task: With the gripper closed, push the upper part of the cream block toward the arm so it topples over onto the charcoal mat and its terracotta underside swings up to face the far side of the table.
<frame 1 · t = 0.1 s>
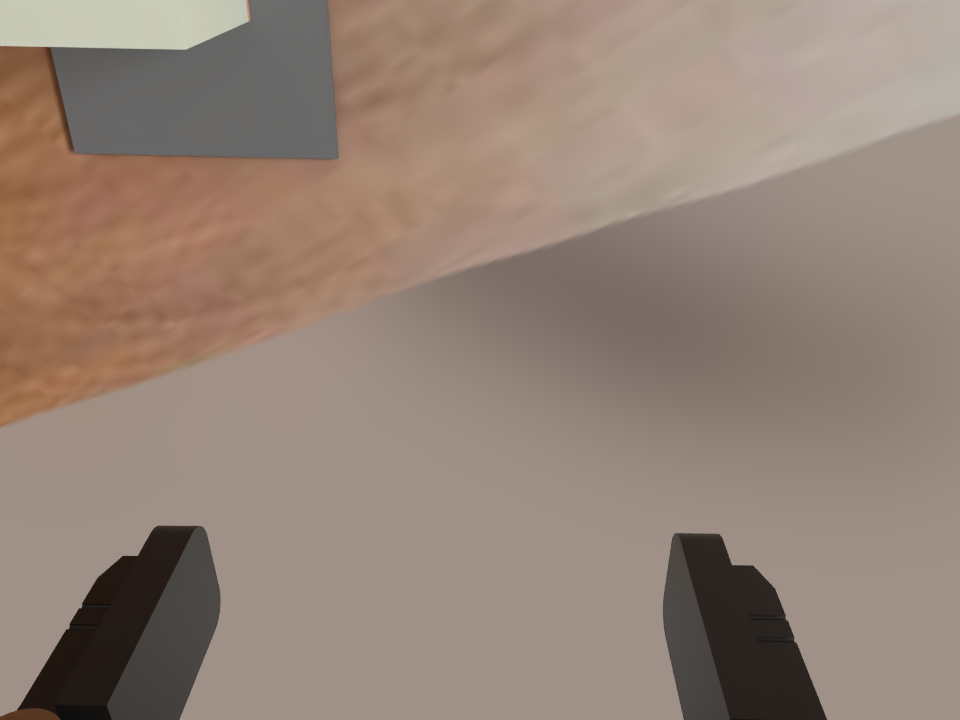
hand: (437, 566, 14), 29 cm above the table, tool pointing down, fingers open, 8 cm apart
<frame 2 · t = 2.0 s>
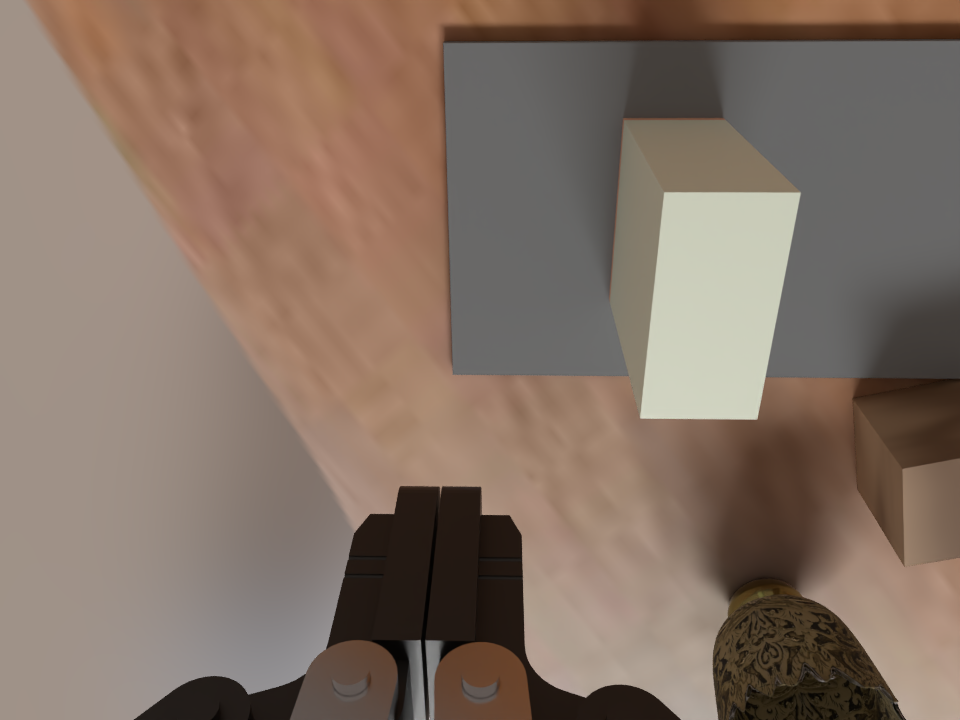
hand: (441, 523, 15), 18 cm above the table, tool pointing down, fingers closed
cream block: (662, 213, 30), resting on mat
filigree lamp shade: (760, 596, 40), on the table
walnut cube: (914, 433, 35), on the table
mat: (739, 223, 30), on the table
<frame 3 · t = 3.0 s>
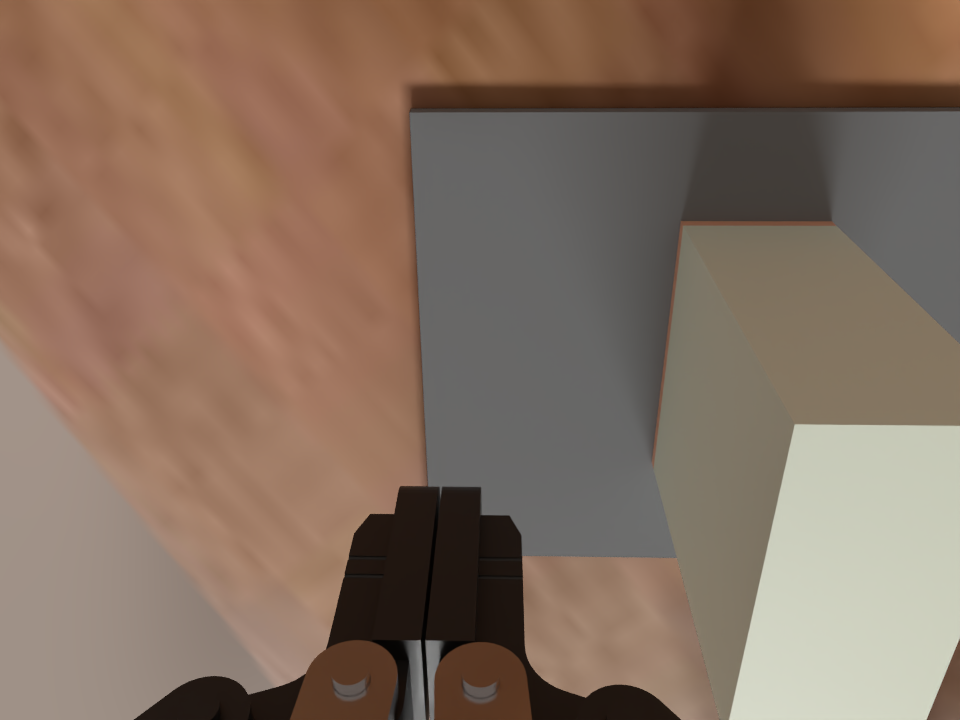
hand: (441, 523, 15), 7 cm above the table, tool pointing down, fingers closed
cream block: (734, 352, 20), resting on mat
mat: (843, 362, 21), on the table
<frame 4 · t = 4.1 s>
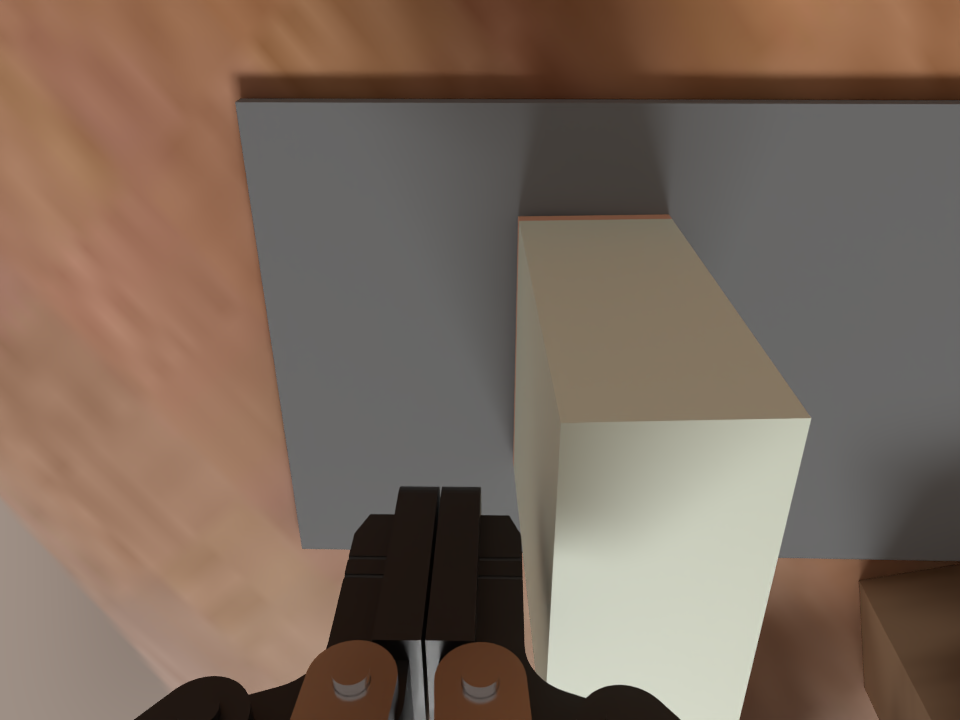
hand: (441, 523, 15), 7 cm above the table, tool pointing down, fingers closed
cream block: (584, 348, 20), point 1 cm above the table, touching gripper, mat
walnut cube: (942, 622, 25), on the table
mat: (697, 357, 21), on the table
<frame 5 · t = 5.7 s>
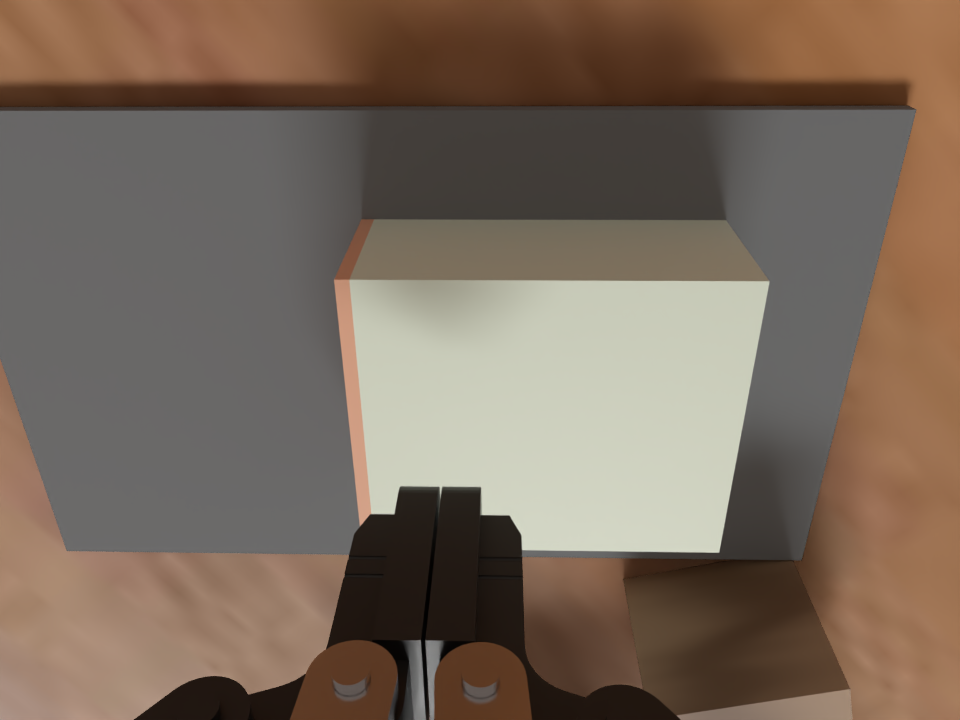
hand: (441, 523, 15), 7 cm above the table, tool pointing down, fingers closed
cream block: (361, 385, 19), point 2 cm above the table, tilted 90°, touching mat
walnut cube: (714, 619, 26), on the table
mat: (421, 359, 21), on the table
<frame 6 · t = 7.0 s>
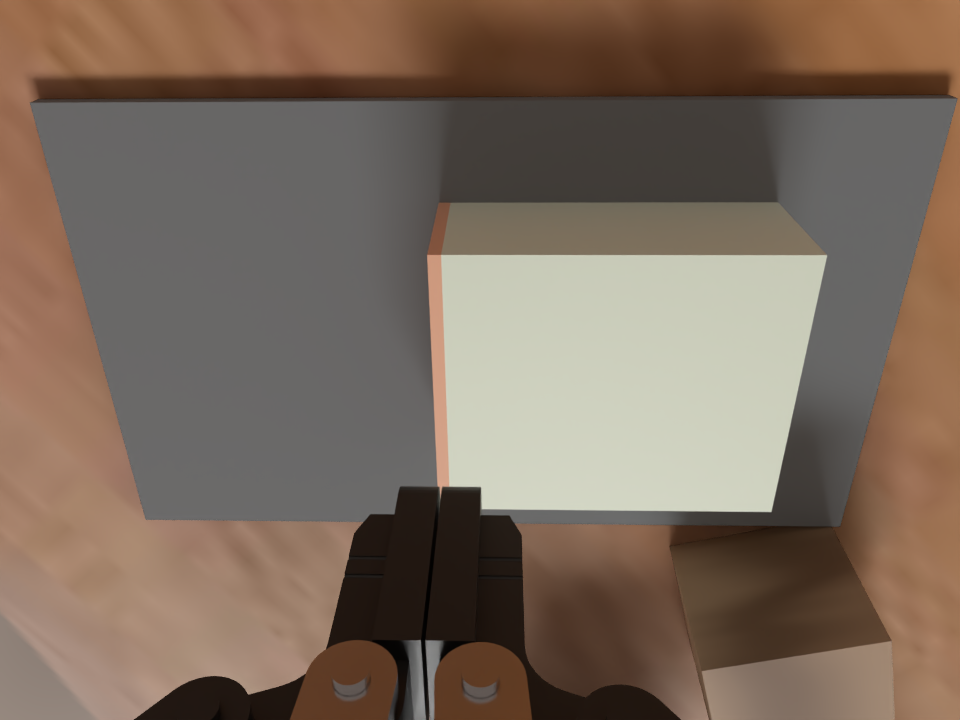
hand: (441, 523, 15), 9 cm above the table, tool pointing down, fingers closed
cream block: (438, 357, 20), point 2 cm above the table, tilted 90°, touching mat
walnut cube: (754, 585, 27), on the table
mat: (487, 335, 23), on the table
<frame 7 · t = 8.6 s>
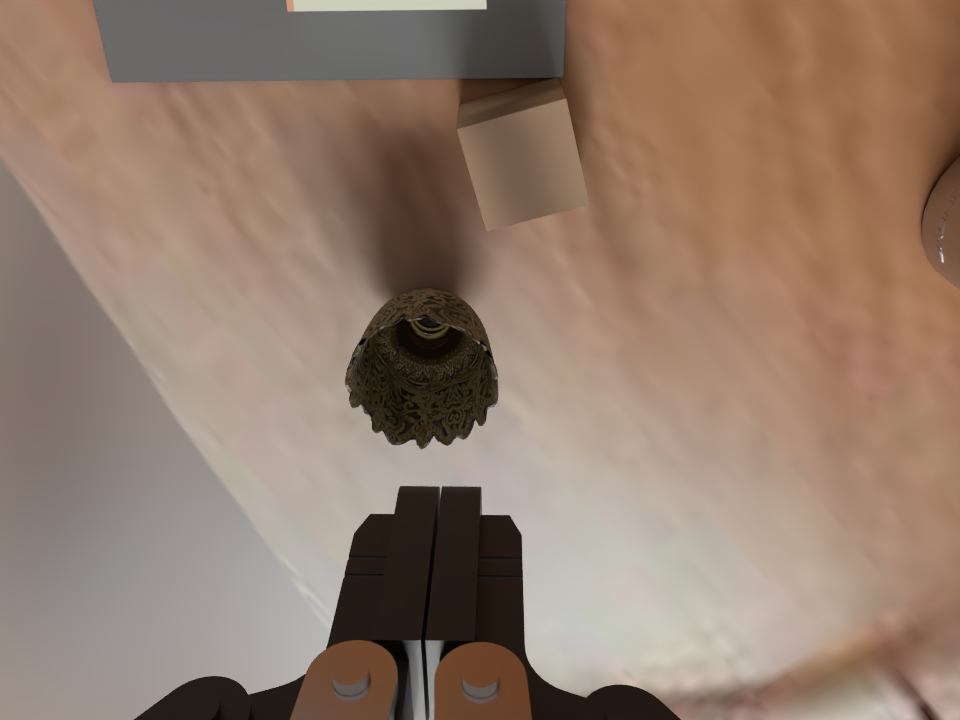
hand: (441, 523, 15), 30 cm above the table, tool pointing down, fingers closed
filigree lamp shade: (431, 312, 46), on the table
walnut cube: (520, 138, 41), on the table
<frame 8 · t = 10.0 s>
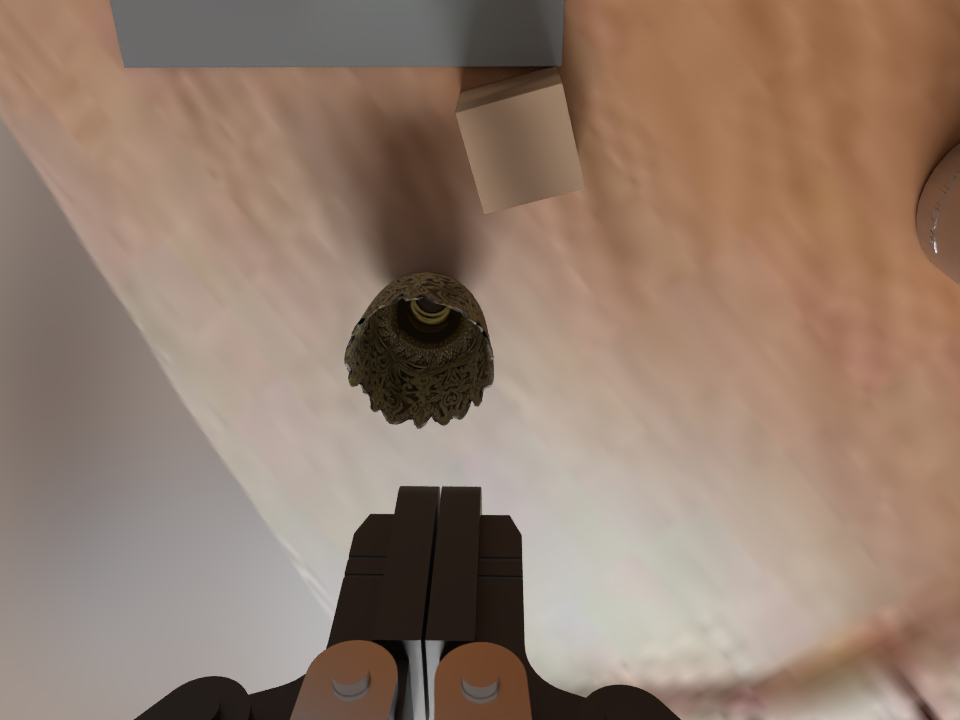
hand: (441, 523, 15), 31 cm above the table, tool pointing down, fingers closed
filigree lamp shade: (431, 298, 47), on the table
walnut cube: (519, 126, 42), on the table
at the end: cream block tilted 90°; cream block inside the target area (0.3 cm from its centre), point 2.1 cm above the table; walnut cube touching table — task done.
